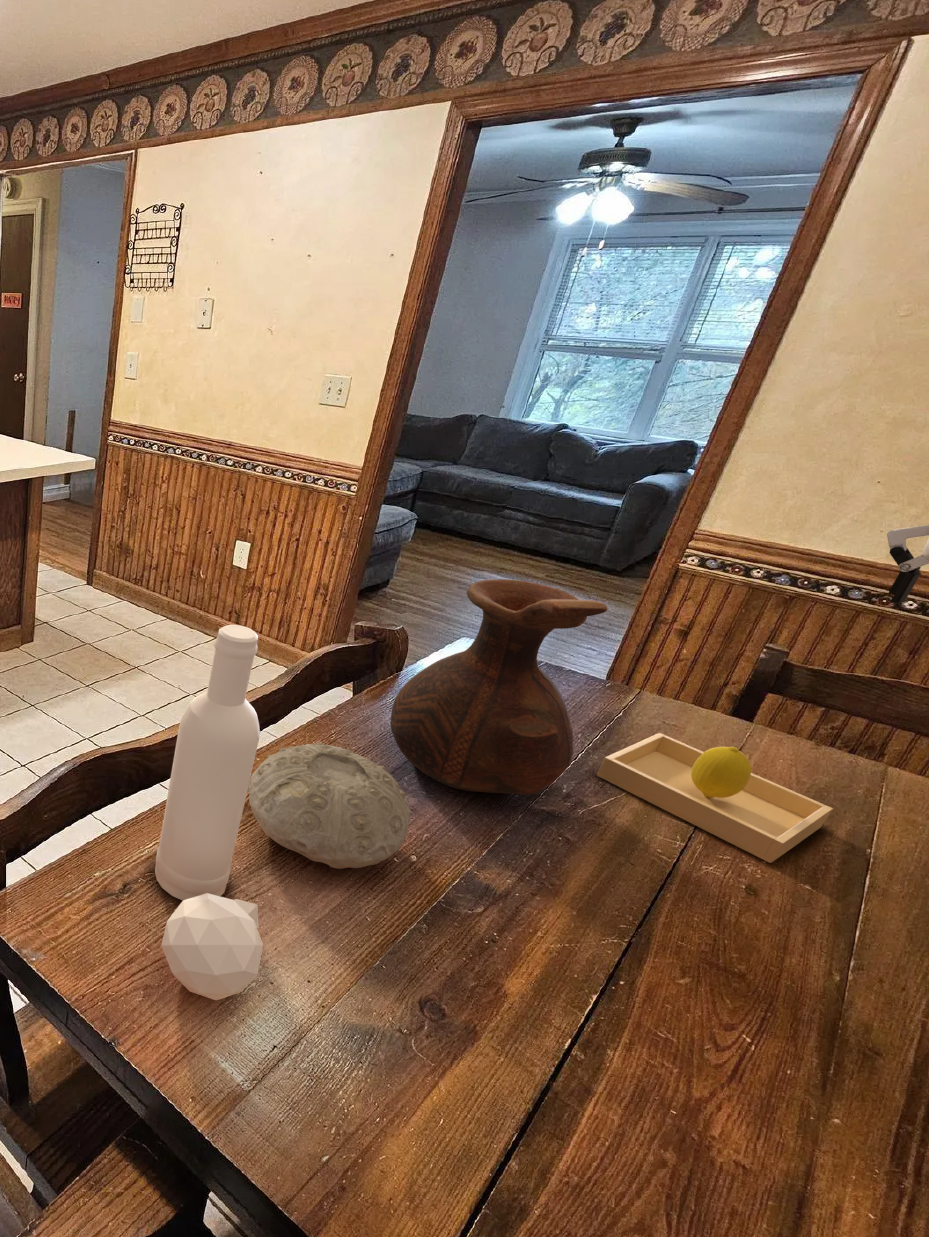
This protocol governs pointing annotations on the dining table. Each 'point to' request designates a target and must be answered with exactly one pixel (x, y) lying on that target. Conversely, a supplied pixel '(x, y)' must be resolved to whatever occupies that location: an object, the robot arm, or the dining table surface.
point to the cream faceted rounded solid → (213, 945)
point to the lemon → (721, 772)
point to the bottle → (210, 774)
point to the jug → (494, 697)
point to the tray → (715, 798)
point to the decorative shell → (329, 805)
